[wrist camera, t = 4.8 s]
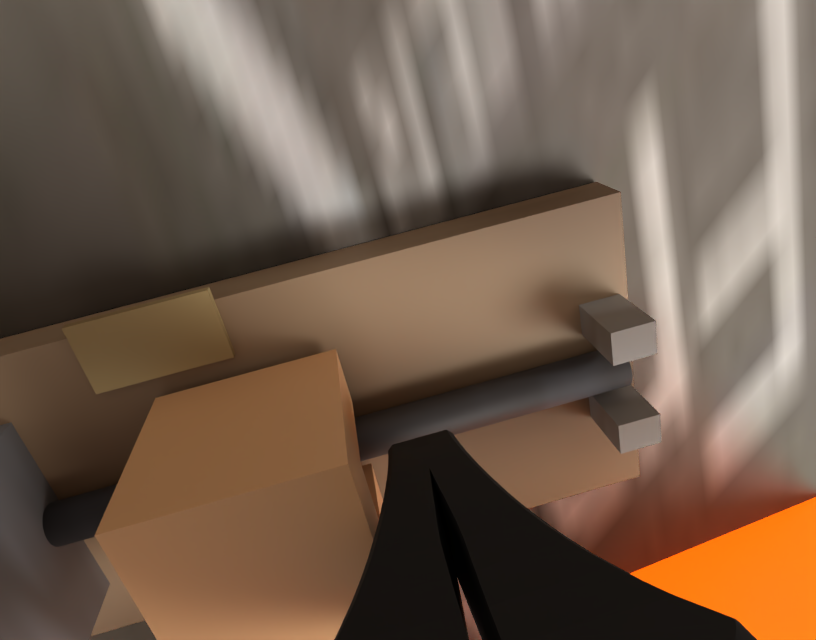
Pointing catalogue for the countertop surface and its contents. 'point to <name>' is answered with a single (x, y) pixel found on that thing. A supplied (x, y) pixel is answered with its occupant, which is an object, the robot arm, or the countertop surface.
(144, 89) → the countertop surface
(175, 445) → the tan small block
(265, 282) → the cord board
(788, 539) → the orange juice
